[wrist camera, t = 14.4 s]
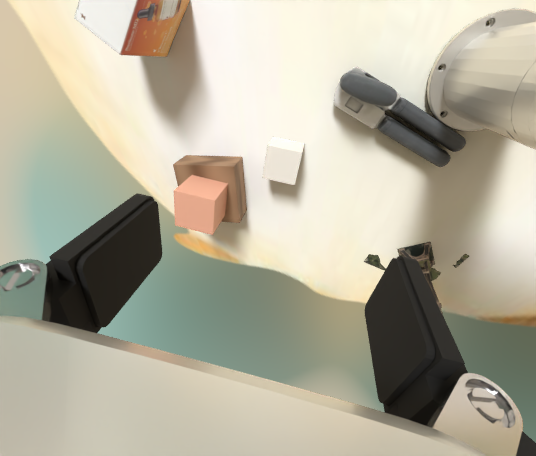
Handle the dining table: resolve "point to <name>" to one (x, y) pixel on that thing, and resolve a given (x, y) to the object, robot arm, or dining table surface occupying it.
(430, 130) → the can opener
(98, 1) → the small box
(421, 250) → the eiffel tower figurine
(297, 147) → the pale grey cube
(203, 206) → the terracotta cube
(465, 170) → the dining table surface
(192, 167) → the walnut base block
